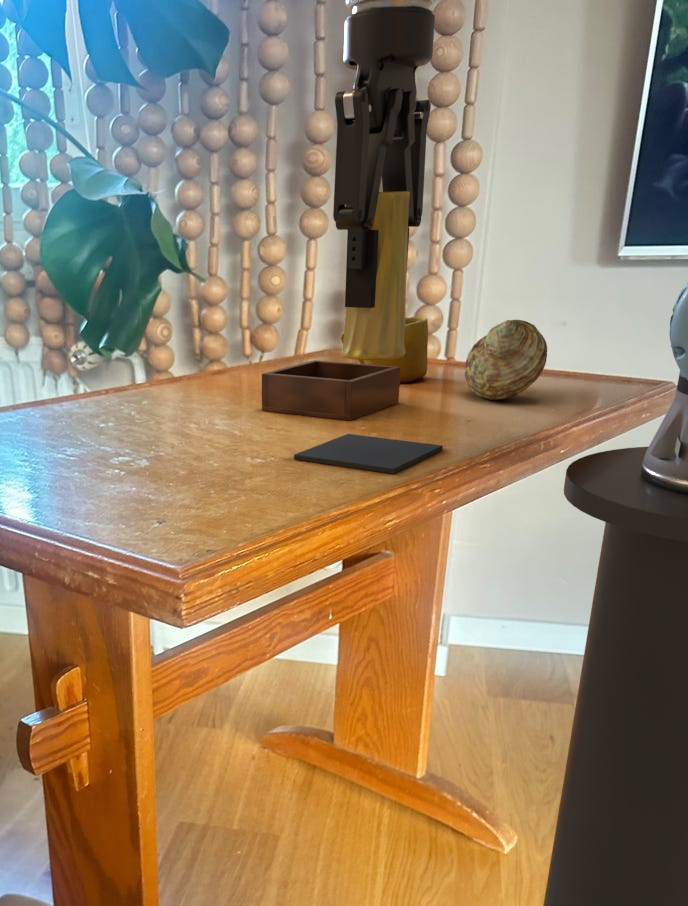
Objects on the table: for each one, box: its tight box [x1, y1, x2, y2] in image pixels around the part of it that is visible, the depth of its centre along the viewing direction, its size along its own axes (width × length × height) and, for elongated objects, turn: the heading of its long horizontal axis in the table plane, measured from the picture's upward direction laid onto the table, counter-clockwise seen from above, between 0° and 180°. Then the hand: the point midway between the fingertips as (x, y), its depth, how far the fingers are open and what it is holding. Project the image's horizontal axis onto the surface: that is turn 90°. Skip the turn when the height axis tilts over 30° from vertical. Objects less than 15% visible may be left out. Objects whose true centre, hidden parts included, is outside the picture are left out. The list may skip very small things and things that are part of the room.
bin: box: [261, 359, 401, 421], centre depth 115 cm, size 13×13×4 cm
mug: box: [340, 316, 429, 384], centre depth 133 cm, size 12×10×10 cm
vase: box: [341, 191, 410, 361], centre depth 86 cm, size 6×6×14 cm
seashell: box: [464, 319, 548, 401], centre depth 117 cm, size 11×11×10 cm
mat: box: [293, 433, 444, 475], centre depth 93 cm, size 11×11×1 cm
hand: (375, 303), depth 87 cm, fingers closed on vase, 5 cm apart
